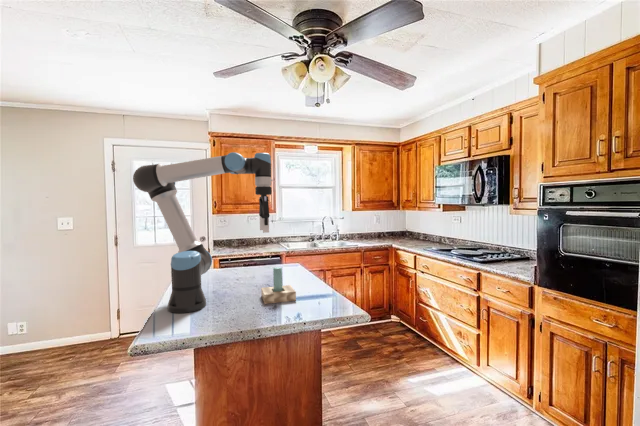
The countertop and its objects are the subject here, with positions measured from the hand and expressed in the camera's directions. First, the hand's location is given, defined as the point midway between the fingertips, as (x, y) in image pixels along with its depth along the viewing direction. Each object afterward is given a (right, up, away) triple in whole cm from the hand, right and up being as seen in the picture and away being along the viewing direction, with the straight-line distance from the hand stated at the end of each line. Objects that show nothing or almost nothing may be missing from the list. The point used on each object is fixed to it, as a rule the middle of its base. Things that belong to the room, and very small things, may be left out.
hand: (264, 231), depth 150 cm
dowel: (+7, -31, -4) cm, 32 cm away
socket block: (+7, -31, -4) cm, 32 cm away
